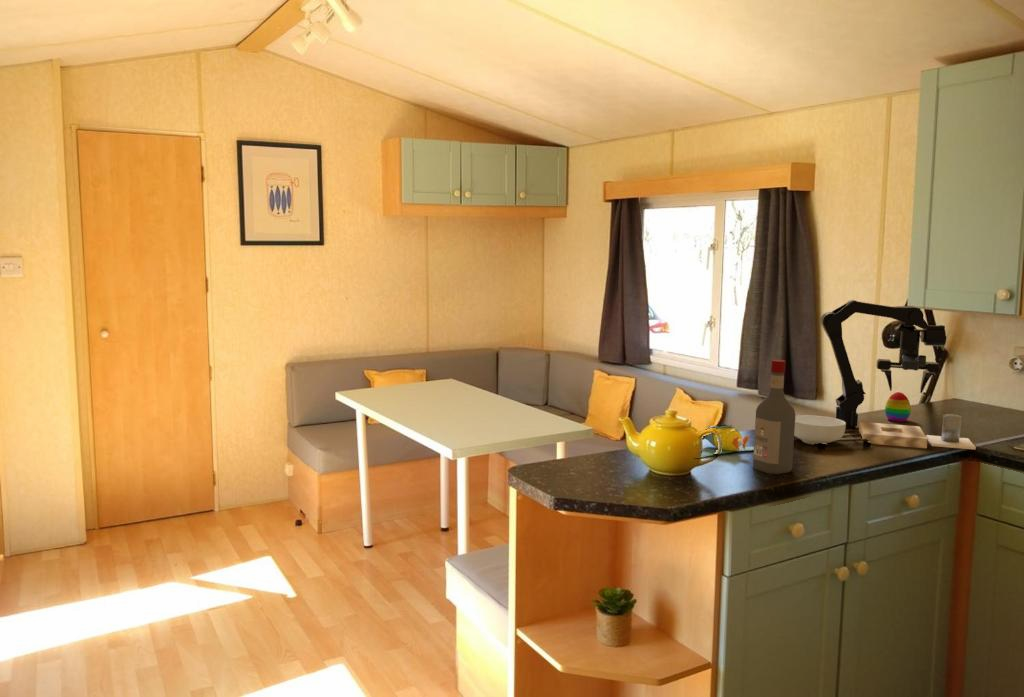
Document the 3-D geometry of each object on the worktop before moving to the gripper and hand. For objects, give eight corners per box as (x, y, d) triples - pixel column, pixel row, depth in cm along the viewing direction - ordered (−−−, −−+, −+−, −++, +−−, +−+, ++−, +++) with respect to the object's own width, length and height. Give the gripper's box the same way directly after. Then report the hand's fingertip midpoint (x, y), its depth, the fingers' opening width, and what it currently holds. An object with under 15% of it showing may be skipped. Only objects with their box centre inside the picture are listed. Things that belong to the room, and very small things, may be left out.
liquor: (772, 475, 227) (778, 364, 223) (747, 467, 235) (753, 359, 231) (797, 471, 231) (803, 362, 227) (771, 463, 239) (778, 357, 235)
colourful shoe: (703, 433, 238) (671, 423, 252) (702, 463, 239) (670, 452, 253) (780, 425, 250) (746, 416, 264) (779, 454, 251) (745, 443, 265)
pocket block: (862, 443, 265) (863, 433, 264) (858, 430, 282) (859, 421, 281) (926, 448, 259) (927, 438, 259) (918, 435, 276) (919, 426, 276)
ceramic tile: (931, 446, 262) (932, 443, 262) (926, 437, 274) (926, 434, 274) (975, 449, 259) (975, 447, 259) (967, 440, 270) (968, 438, 270)
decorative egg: (915, 422, 296) (917, 394, 295) (894, 423, 294) (896, 394, 293) (899, 417, 304) (901, 389, 303) (879, 418, 302) (881, 390, 301)
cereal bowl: (856, 444, 262) (857, 422, 262) (820, 451, 254) (821, 428, 253) (810, 433, 277) (812, 412, 276) (775, 439, 268) (776, 417, 267)
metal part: (942, 441, 264) (944, 416, 263) (940, 438, 269) (942, 413, 268) (960, 443, 263) (962, 417, 262) (957, 439, 268) (959, 414, 267)
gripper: (881, 346, 275) (877, 393, 277) (945, 349, 270) (940, 398, 272) (878, 342, 286) (874, 388, 288) (939, 345, 280) (935, 392, 282)
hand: (905, 391), depth 282 cm, fingers open, 9 cm apart
